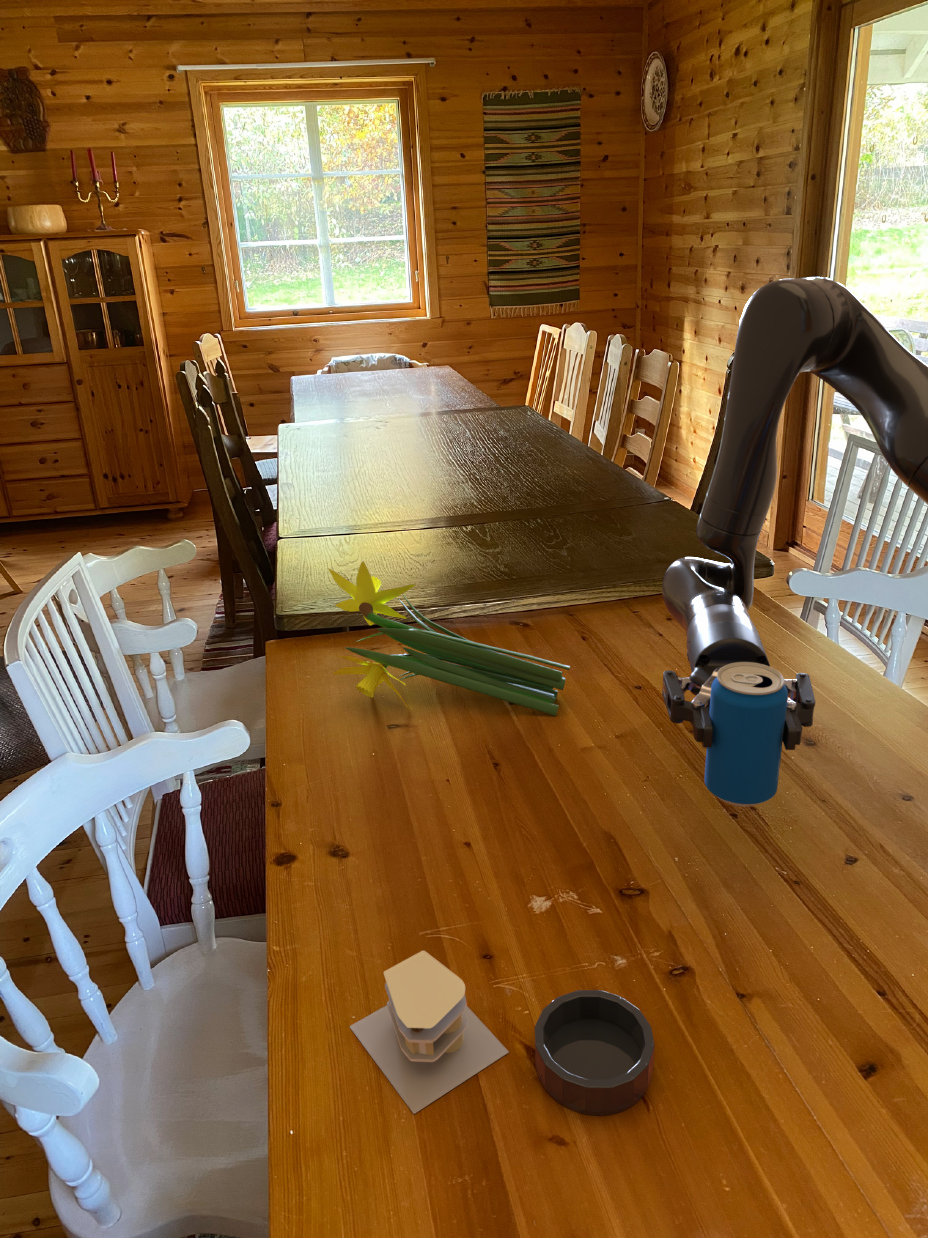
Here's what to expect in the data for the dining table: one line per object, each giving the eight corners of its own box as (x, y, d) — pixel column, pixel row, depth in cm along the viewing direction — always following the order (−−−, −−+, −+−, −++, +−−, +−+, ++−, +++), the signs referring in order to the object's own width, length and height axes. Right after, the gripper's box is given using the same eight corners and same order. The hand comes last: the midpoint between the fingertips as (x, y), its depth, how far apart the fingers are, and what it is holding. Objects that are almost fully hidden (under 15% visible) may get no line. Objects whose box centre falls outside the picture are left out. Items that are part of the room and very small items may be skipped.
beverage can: (774, 817, 81) (787, 700, 76) (699, 804, 83) (707, 689, 78) (778, 776, 86) (791, 664, 81) (708, 765, 89) (716, 655, 84)
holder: (664, 1037, 73) (666, 1010, 72) (634, 1133, 66) (635, 1105, 65) (558, 1003, 77) (557, 976, 76) (518, 1091, 69) (517, 1063, 68)
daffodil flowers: (546, 754, 113) (280, 672, 116) (543, 750, 127) (306, 677, 130) (584, 624, 114) (321, 546, 117) (577, 634, 129) (342, 565, 132)
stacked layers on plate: (349, 1027, 76) (342, 977, 73) (439, 975, 80) (435, 927, 78) (414, 1114, 68) (408, 1062, 66) (509, 1052, 73) (507, 1001, 70)
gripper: (656, 619, 94) (667, 701, 79) (801, 620, 92) (841, 705, 77) (653, 683, 97) (664, 773, 82) (793, 685, 95) (830, 779, 80)
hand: (749, 740), depth 80 cm, fingers closed on beverage can, 6 cm apart
